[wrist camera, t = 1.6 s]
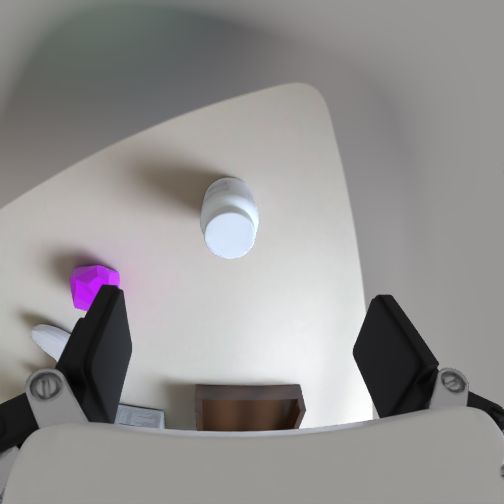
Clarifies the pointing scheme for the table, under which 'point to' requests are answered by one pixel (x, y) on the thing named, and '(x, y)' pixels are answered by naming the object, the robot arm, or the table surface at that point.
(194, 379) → the table surface
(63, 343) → the game controller
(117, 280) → the crystal
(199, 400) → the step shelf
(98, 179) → the table surface
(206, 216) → the pill bottle
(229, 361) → the table surface
